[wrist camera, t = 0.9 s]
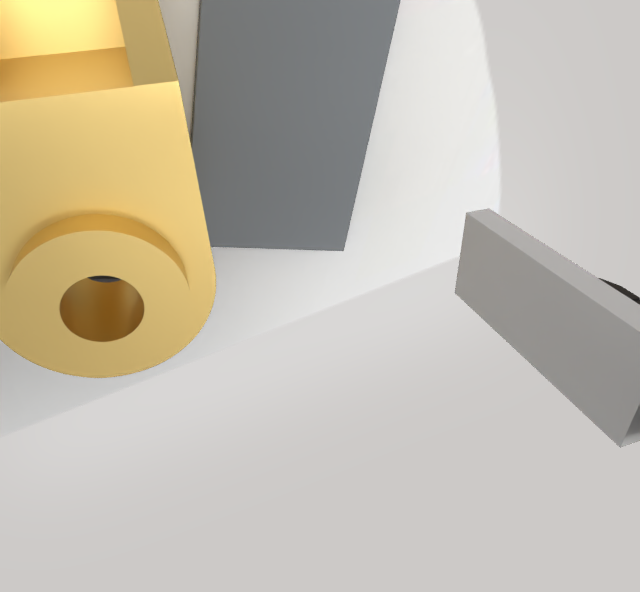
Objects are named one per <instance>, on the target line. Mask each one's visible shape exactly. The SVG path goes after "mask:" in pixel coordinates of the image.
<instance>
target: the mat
mask: <svg viewBox="0 0 640 592" xmlns="http://www.w3.org/2000/svg"><path fill="white" fill-rule="evenodd" d="M399 4H400V0H200V9H199V25H198V40H197V56H196V71H195V87H194V102H193V118H192V133H191V148H192V154H193V159H194V164H195V169H196V174H197V179H198V185H199V190H200V195H201V200H202V205H203V210H204V216H205V221H206V226H207V231H208V236H209V241H210V247H237V248H267V249H297V250H327V251H344V247H345V242H346V238H347V233H348V229H349V225H350V220H351V216H352V211H353V207H354V203H355V198H356V194H357V189H358V185H359V181H360V176H361V172H362V167H363V163H364V159H365V154H366V150H367V145H368V141H369V137H370V132H371V128H372V123H373V119H374V115H375V110H376V106H377V101H378V97H379V92H380V88H381V84H382V79H383V75H384V70H385V66H386V62H387V57H388V53H389V48H390V44H391V40H392V35H393V31H394V26H395V22H396V18H397V13H398V9H399Z"/></svg>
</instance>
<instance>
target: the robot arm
mask: <svg viewBox="0 0 640 592" xmlns="http://www.w3.org/2000/svg"><path fill="white" fill-rule="evenodd" d="M455 293H456V294H457V295H458V296H459V297H460V298H461V299H462V300H463V301H464V302H465V303H466V304H467V305H468V306H469V307H471V308H472V309H473V310H474V311H475V312H476V313H477V314H478V315H479V316H480V317H481V318H482V319H483V320H484V321H485V322H487V323H488V324H489V325H490V326H491V327H492V328H493V329H494V330H495V331H496V332H497V333H498V334H499V335H500V336H502V337H503V338H504V339H505V340H506V341H507V342H508V343H509V344H510V345H511V346H512V347H513V348H514V349H516V350H517V352H519V353H520V354H521V355H522V356H523V357H524V358H525V359H526V360H527V361H528V362H529V363H531V365H532V366H534V367H535V368H536V369H537V370H538V371H539V372H540V373H541V374H542V375H543V376H544V377H545V378H546V379H547V380H548V381H550V382H551V383H552V384H553V385H554V386H555V387H556V388H557V389H558V390H559V391H560V392H561V393H562V394H563V395H565V396H566V397H567V398H568V399H569V400H570V401H571V402H572V403H573V404H574V405H575V406H576V407H577V408H579V410H581V411H582V412H583V413H584V414H585V415H586V416H587V417H588V418H589V419H590V420H591V421H592V422H593V423H594V424H595V425H597V426H598V427H599V428H600V429H601V430H602V431H603V432H604V433H605V434H606V435H607V436H608V437H609V438H610V439H611V440H613V441H614V442H615V443H616V444H617V445H618V446H619V447H623V446H626V445H629V444H632V443H635V442H637V441H640V298H639V297H638V296H636V295H634V294H633V293H631V292H630V291H628V290H626V289H625V288H623V287H621V286H619V285H616V284H614V283H611V282H609V281H606V280H603V279H600V278H597V277H595V276H594V275H592V274H591V273H589V272H588V271H586V270H584V269H583V268H581V267H580V266H578V265H577V264H575V263H573V262H572V261H570V260H569V259H567V258H565V257H564V256H563V255H561V254H559V253H558V252H556V251H554V250H553V249H552V248H550V247H548V246H547V245H545V244H543V243H542V242H541V241H539V240H537V239H536V238H534V237H533V236H531V235H529V234H528V233H526V232H525V231H523V230H522V229H520V228H519V227H517V226H515V225H514V224H512V223H511V222H509V221H507V220H506V219H504V218H503V217H501V216H500V215H498V214H497V213H495V212H494V211H492V210H490V209H484V210H479V211H473V212H468V213H466V219H465V226H464V233H463V240H462V246H461V253H460V260H459V267H458V274H457V281H456V288H455Z"/></svg>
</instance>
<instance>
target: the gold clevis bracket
mask: <svg viewBox="0 0 640 592" xmlns="http://www.w3.org/2000/svg"><path fill="white" fill-rule="evenodd" d="M91 276H112V277H116V278H119V279H122V280H119V281H116V282H108V283H105V282H97V281H94V280H91V279H89V278H87V277H91ZM215 292H216V274H215V267H214V262H213V257H212V252H211V247H210V241H209V236H208V231H207V226H206V221H205V216H204V210H203V205H202V200H201V195H200V190H199V185H198V179H197V174H196V169H195V164H194V159H193V154H192V148H191V143H190V138H189V133H188V128H187V123H186V117H185V112H184V107H183V102H182V97H181V92H180V86H179V81H178V77H177V73H176V69H175V65H174V61H173V57H172V54H171V50H170V46H169V42H168V38H167V34H166V30H165V26H164V22H163V18H162V14H161V10H160V6H159V2H158V0H0V340H1V341H2V342H3V343H4V344H6V345H7V346H8V347H9V348H10V349H12V350H13V351H14V352H16V353H17V354H19V355H20V356H22V357H23V358H25V359H27V360H29V361H31V362H33V363H35V364H37V365H39V366H41V367H44V368H47V369H49V370H52V371H56V372H59V373H63V374H68V375H73V376H81V377H90V378H106V377H115V376H122V375H127V374H132V373H136V372H139V371H143V370H146V369H148V368H151V367H153V366H156V365H158V364H160V363H162V362H164V361H166V360H167V359H169V358H171V357H172V356H174V355H175V354H177V353H178V352H179V351H181V350H182V349H183V348H184V347H186V346H187V345H188V344H189V343H190V342H191V341H192V340H193V339H194V338H195V336H196V335H197V334H198V333H199V331H200V330H201V329H202V327H203V325H204V324H205V322H206V320H207V318H208V316H209V314H210V312H211V309H212V306H213V302H214V298H215Z"/></svg>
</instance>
